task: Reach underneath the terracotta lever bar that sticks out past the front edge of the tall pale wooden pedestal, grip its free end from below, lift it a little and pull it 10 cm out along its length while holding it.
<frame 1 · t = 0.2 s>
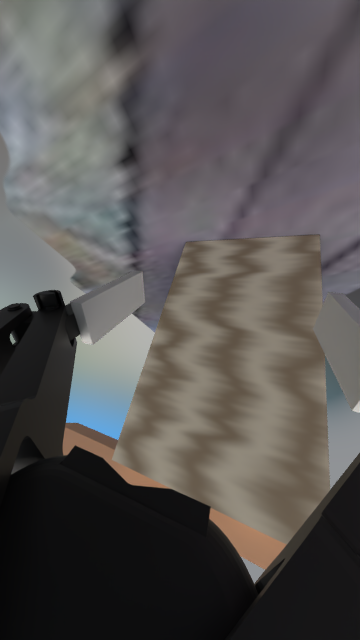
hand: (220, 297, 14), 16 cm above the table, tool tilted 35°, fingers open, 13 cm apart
lever bar: (157, 462, 22), point 30 cm above the table, touching pedestal
pedestal: (244, 263, 31), on the table
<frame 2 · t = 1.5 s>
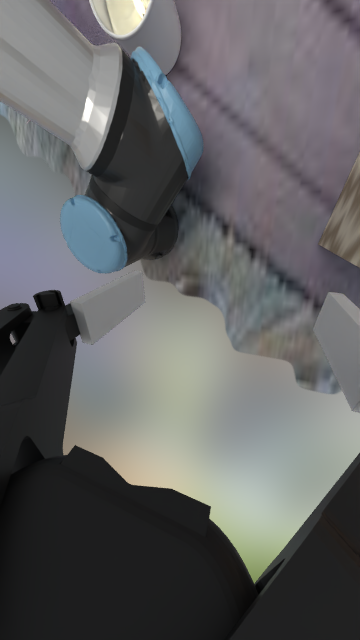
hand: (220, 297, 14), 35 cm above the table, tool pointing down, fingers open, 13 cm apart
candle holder: (159, 42, 33), on the table
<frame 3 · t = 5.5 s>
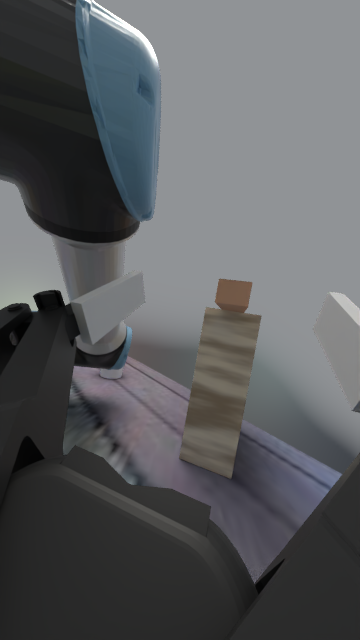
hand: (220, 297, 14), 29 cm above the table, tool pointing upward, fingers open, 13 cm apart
lever bar: (232, 312, 38), point 30 cm above the table, touching pedestal
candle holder: (110, 375, 74), on the table
pedestal: (210, 440, 44), on the table
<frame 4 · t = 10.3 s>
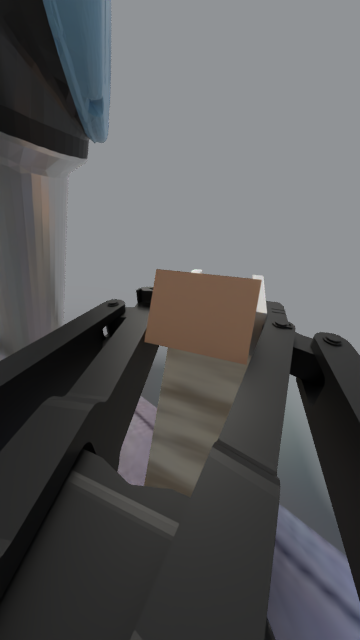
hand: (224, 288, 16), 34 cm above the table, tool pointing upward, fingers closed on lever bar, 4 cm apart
lever bar: (221, 334, 22), point 30 cm above the table, touching gripper, pedestal
pedestal: (188, 533, 28), on the table
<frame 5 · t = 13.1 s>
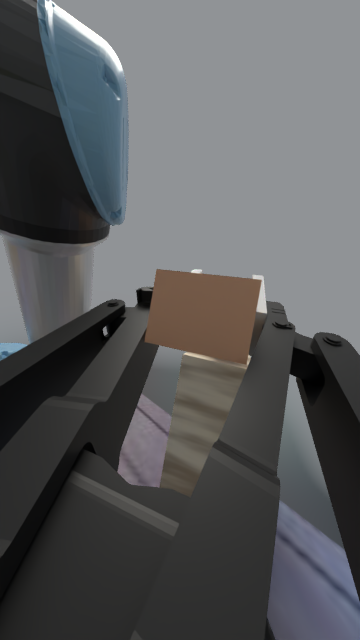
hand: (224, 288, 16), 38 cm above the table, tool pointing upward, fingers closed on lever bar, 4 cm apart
lever bar: (221, 334, 22), point 34 cm above the table, touching gripper
pedestal: (193, 511, 35), on the table
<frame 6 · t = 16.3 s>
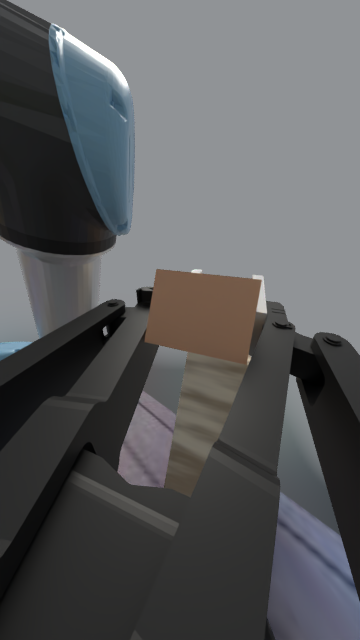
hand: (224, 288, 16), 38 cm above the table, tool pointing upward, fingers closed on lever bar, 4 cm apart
lever bar: (221, 334, 22), point 34 cm above the table, touching gripper
pedestal: (197, 499, 38), on the table
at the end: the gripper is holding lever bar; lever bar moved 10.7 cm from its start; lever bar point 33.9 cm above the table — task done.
